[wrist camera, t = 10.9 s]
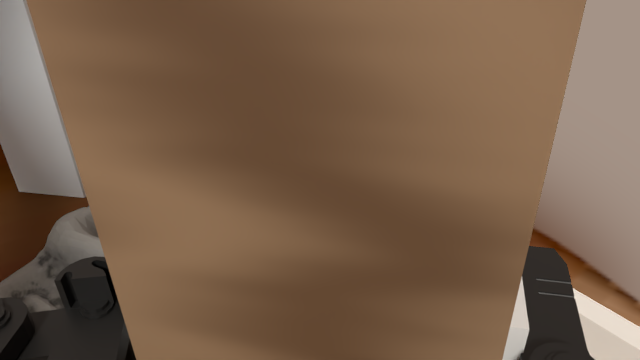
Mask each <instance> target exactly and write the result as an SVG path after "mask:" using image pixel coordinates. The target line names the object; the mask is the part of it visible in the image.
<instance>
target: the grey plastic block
mask: <svg viewBox="0 0 640 360" xmlns="http://www.w3.org/2000/svg"><path fill="white" fill-rule="evenodd" d="M0 143H1V146H2V149H3V151H4V154H5V157H6V159H7V162H8V164H9V167H10V170H11V172H12V175H13V177H14V180H15V183H16V185H17V188H18V190H19V192H28V193H38V194H49V195H59V196H69V197H80V198H85V197H86V194H85V191H84V187H83V184H82V181H81V177H80V174H79V171H78V168H77V164H76V161H75V158H74V155H73V151H72V148H71V145H70V142H69V138H68V135H67V132H66V129H65V125H64V122H63V119H62V115H61V112H60V109H59V106H58V102H57V99H56V96H55V93H54V89H53V86H52V83H51V80H50V76H49V73H48V70H47V67H46V63H45V60H44V57H43V53H42V50H41V47H40V44H39V40H38V37H37V34H36V31H35V27H34V24H33V21H32V18H31V14H30V11H29V8H28V5H27V1H26V0H0Z"/></svg>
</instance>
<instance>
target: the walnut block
mask: <svg viewBox="0 0 640 360" xmlns="http://www.w3.org/2000/svg"><path fill="white" fill-rule="evenodd" d="M26 1H27V5H28V8H29V11H30V14H31V18H32V21H33V24H34V27H35V31H36V34H37V37H38V40H39V44H40V47H41V50H42V53H43V57H44V60H45V63H46V67H47V70H48V73H49V76H50V80H51V83H52V86H53V89H54V93H55V96H56V99H57V102H58V106H59V109H60V112H61V115H62V119H63V122H64V125H65V129H66V132H67V135H68V138H69V142H70V145H71V148H72V151H73V155H74V158H75V161H76V164H77V168H78V171H79V174H80V177H81V181H82V184H83V187H84V191H85V194H86V197H87V200H88V204H89V207H90V210H91V213H92V217H93V220H94V223H95V226H96V230H97V233H98V236H99V239H100V243H101V246H102V249H103V253H104V256H105V259H106V262H107V266H108V269H109V272H110V275H111V279H112V282H113V285H114V288H115V292H116V295H117V298H118V301H119V305H120V308H121V311H122V315H123V318H124V321H125V324H126V328H127V331H128V334H129V337H130V341H131V344H132V347H133V350H134V354H135V357H136V360H502V359H503V354H504V350H505V346H506V342H507V337H508V333H509V329H510V325H511V320H512V316H513V312H514V307H515V303H516V299H517V295H518V290H519V286H520V282H521V277H522V273H523V269H524V265H525V260H526V256H527V252H528V248H529V243H530V239H531V235H532V230H533V226H534V222H535V218H536V213H537V209H538V205H539V201H540V196H541V192H542V187H543V183H544V179H545V175H546V171H547V166H548V162H549V157H550V154H551V149H552V145H553V141H554V136H555V132H556V128H557V124H558V119H559V115H560V111H561V106H562V102H563V98H564V94H565V89H566V85H567V81H568V77H569V72H570V68H571V63H572V59H573V55H574V51H575V47H576V42H577V38H578V34H579V30H580V25H581V21H582V17H583V12H584V8H585V4H586V0H26Z"/></svg>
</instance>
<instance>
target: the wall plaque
mask: <svg viewBox="0 0 640 360" xmlns="http://www.w3.org/2000/svg"><path fill="white" fill-rule="evenodd" d="M94 256H98V257H105V256H104V253H103V249H102V246H101V243H100V239H99V236H98V233H97V230H96V226H95V223H94V220H93V217H92V213H91V210H90V207H89V206H88V207H87V208H86V207H83V208H80V209H78V210H75V211H73V212H70V213H68V214H66V215H64V216H63V217H61V218H60V219H59V220H57V221H56V223H55V225H54V226H53V228H52V230H51V232H50V233H49V235H48V238H47V242H46V244H45V247H44V248H43V249H42V250H41V251H40V252H39V253H38V255H37V256H36V258H35V259H33V260H32V261H31V262H30V263H28V264H27V265H25V266H24V267H22V268H21V269H19V270H17V271H16V272H15V273H13V274H12V275H10V276H9V277H7V278H6V279H4V280H3V281H2V282H0V298H7V297H12V298H16V299H20V300H22V301H23V302H24V303H25V304H26V305H27V308H28V310H29V312H30V313H33V312H40V311H48V310H56V309H62V308H64V305H63V303H62V300H61V298H60V295H59V292H58V290H57V287H56V285H55V282H54V280H55V279H56V277H57V276H58V274H59V273H60V272H61V271H62V270H63V269H64V268H66V267H67V266H68V265H70V264H72V263H74V262H76V261H78V260H81V259H84V258H89V257H94Z"/></svg>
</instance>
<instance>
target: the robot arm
mask: <svg viewBox="0 0 640 360" xmlns="http://www.w3.org/2000/svg"><path fill="white" fill-rule="evenodd" d="M54 282H55V285H56V287H57V290H58V292H59V295H60V298H61V300H62V303H63V305H64V308H62V309H56V310H48V311H40V312H33V313H30V312H29V310H28V308H27V305H26V304H25V303H24V302H23V301H22V300H20V299H16V298H12V297H7V298H0V360H136V357H135V354H134V350H133V347H132V344H131V341H130V337H129V334H128V331H127V328H126V324H125V321H124V318H123V315H122V311H121V308H120V305H119V301H118V298H117V295H116V292H115V288H114V285H113V282H112V279H111V275H110V272H109V269H108V266H107V262H106V259H105V257H98V256H94V257H89V258H84V259H81V260H78V261H76V262H74V263H72V264H70V265H68V266H67V267H66V268H64V269H63V270H62V271H61V272H60V273H59V274H58V276H57V277H56V279H55V280H54ZM502 360H595V359H594V358H593V357H591V356H590V354H589V352H588V349H587V346H586V341H585V337H584V333H583V329H582V325H581V321H580V317H579V313H578V308H577V304H576V300H575V299H574V292H573V288H572V285H571V279H570V275H569V271H568V267H567V264H566V263H565V262H564V260H563V259H562V258H561V257H560V256H559V254H558V253H557V252H556V251H555V249H552V248H543V247H533V246H529V248H528V252H527V256H526V260H525V265H524V269H523V273H522V277H521V282H520V286H519V290H518V295H517V299H516V303H515V307H514V312H513V316H512V320H511V325H510V329H509V333H508V337H507V342H506V346H505V350H504V354H503V359H502Z"/></svg>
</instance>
